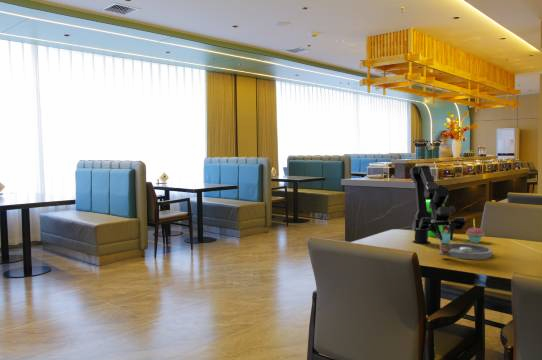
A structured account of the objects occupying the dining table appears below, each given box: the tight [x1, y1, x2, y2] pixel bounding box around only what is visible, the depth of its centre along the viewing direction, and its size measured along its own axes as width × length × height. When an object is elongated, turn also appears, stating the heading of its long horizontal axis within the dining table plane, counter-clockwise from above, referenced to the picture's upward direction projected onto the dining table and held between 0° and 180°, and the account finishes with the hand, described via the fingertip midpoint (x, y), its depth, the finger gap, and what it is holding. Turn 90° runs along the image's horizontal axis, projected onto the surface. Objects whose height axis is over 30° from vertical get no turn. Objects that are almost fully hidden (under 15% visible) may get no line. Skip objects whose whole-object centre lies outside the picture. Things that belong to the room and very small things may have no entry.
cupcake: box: [465, 218, 485, 244], centre depth 230 cm, size 9×8×12 cm
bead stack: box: [438, 229, 452, 257], centre depth 195 cm, size 5×5×11 cm
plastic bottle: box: [426, 199, 445, 238], centre depth 245 cm, size 10×10×25 cm
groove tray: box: [439, 242, 493, 260], centre depth 204 cm, size 21×21×2 cm
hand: (446, 239), depth 194 cm, fingers closed on bead stack, 4 cm apart
